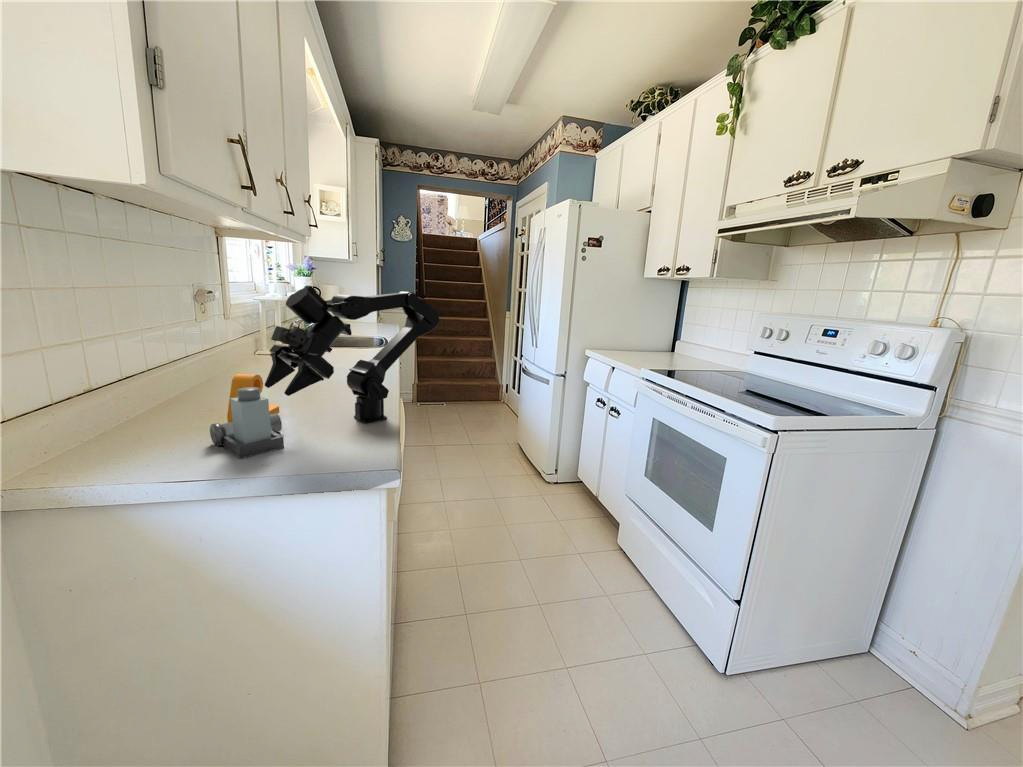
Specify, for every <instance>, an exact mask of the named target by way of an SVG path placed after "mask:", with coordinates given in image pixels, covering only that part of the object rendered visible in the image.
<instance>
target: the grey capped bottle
mask: <svg viewBox="0 0 1023 767" xmlns="http://www.w3.org/2000/svg"><path fill="white" fill-rule="evenodd" d="M237 393H238V397H237V398H230V397H229V399H230V400H231V410H232V420H233V430H234V440H235V441H236V442H238V443H239V444H241V445H245V444H249V443H253V442H258V441H262V440H266V439H270V438H271V427H270V415H269V405H270V404H269V403H270V401H269V398H267V397H265V396H262V395H261V393H260V388H257V387H247V388H241V389H238V390H237Z"/></svg>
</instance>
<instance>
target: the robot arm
mask: <svg viewBox="0 0 1023 767" xmlns="http://www.w3.org/2000/svg"><path fill="white" fill-rule="evenodd" d="M285 306H286V307H287V308H288V309H289V310H290V311H292V313H294V314H295V315H296V316H297V317H298V318H300V319H301V320H302V322H303V323H305V324H313V325H312V327H311V328H310V329H309V330H308V331H305V329H303V328H300V327H299V326H294V327H292V328H291V329H290V328H286V327H283V326H279V325H276V326H275V327H274V330H273V333H272V336H271V337H270V339H271V340H272V341H275V342H280V343H282V344H279V343H278V344H274V345H272V347H270V349H269V350H268V351H269V353H270V354H269V355H270V357H271V361H272V366H271V368H270V371H269V372H268V375H267V377H266V380H265V382H264V387H266V388H272V387H273V386H274V385H276V384H278V383H279V382H280V381H282V380H283V379H285V378H286V377H288V376H289V375H291V374H292V373H294V372H295V371H296V368H297V372H296V374H295V375H294V377H293V378H292V379H291V381H290V383H289V384H288V386H287V387H286V389H285V391H284V395H286V396H288V397H289V396H291V395H293V394H296V393H297V392H300V391H302V390H303V389H305V388H307V387H311V385H314V384H316V383H319V382H321V381H322V382H323V381H324V380H325V379H327V380H329V379H330V378H331V377H332V375H333V374H334V373H335V370H334V368H335V367H334V366H333V365H332V364H331V363H330V362H328V360H326V359H325V358H324V357H323V356H324V355H325V354H326V353H331V352H332V351H333V348H332V347H331V346H332V345H333V344H334V343H335V341H336V340H337V339H338V338H339V336H340V335H346V336H352V334H353V333H352V328H351V324H350V323H345V322H344V321H343V320H342V319H345V320H349V321H350V320H351V321H355V320H358V319H361V318H364V317H367V316H368V315H370V314H372V313H374V312H379V311H386V310H394V309H399V308H401V310H402V311H403V313H404V315H406V316H407V317H406V320H405V322H404V323H405V324H404V326H403V327H402V328H401V330H399V331H398V332H397V333H396V334H395V335H394V337H392V338H391V339H390V341H388V342H387V343H386V344H385V345H384V346H383V348H381V349H380V351H379V352H378V353H376V355H375V356H374V357H372V359H370V360H364V359H359V360H358V361H357V362H356V363H355V365H354V366H353V367H351V368H349V369H348V371H349V372H348V373H347V375H346V384H347V387H348V388H349V389H351V392H352V394H353V395H354V396H356V402H355V403H354V416H353V418H354V419H357V420H359V421H360V422H362V423H364V424H368V423H373V422H378V421H382V420H386V419H388V416H386V415H385V409H384V405H385V403H384V401H385V400H384V399H387V398H388V394H389V392H390V390H389V389H388V388H387V387H386V386H384V381H385V377H386V372H387V371H388V370H389V369H390V368H391V367H392V366H393V364H394V363H395V362H397V360H398V359H399V358H401V356H402V355H403V354H404V353H405V352H406V351H407V350H408V349H409V348H410V347H411V346H412V344H413V343H415V341H416V340H417V339H418V338H419V337H422V336H425V335H426V334H428V333H431V332H432V331H433V330H434V329H436V328H437V327H438V325H440V314H439V312H438V311H437V310H436V309H435V308H433V307H432V306H430V305H429V304H428V303H426V302H425V301H424V300H423V299H421V298H419V296H418V295H417V294H416V293H414V292H412V291H403V290H402V291H399V292H392V293H386V294H385V293H384V294H376V295H367V296H363V295H362V296H361V295H352V294H351V295H349V294H335V295H333V296H332V298H331V299H326V300H325V299H324V298H323V297H322V296H321V295H320V294H319V293H318V292H317V290H316V289H315V288H314V287H313V286H312V285H305V286H304V287H303V288H301V289H299V290H297V291H295V292H294V293H292V294H291V295H289V297H288V298H287V299H286V301H285ZM284 344H286V345H284Z"/></svg>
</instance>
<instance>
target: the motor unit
mask: <svg viewBox="0 0 1023 767" xmlns="http://www.w3.org/2000/svg"><path fill="white" fill-rule="evenodd" d="M209 426H210V427H209V434H210V438H211V441H212V443H213V445H214V446H215V447H218V446H222V447H223V448H224V449H225V450H226V451H228V452H229V453H231V454H232V455H233V456H235V457H237V458H239V459H240V460H242V459H246V458H248V457H253V456H256V455H260V454H261V455H262V454H264V453H268V452H271V451H272V452H273V451H275V450H281V449H283V448H285V444H284V443H285V442H284V436H283V435H281V434H279V432H282V429H283V427H282V426H283V424H282V419H281V417H280V415H279V413H278V414H271V415H270V427H271V438H270V439H266V440H262V441H258V442H253V443H249V444H245V445H241V444H239V443H238V442H236V441H235V440H234V430H233V422H230V423H228V422H226V423H221V424H220V423H218V422H217V423H212V424H210V425H209Z"/></svg>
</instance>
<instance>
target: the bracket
mask: <svg viewBox="0 0 1023 767" xmlns="http://www.w3.org/2000/svg"><path fill="white" fill-rule="evenodd" d="M231 380H232V381H231V385H230V392H229V401H228V406H227V407H228V408H227V415H226V418H227V423H230V422H233V420H232V410H231V400H230V398H237V397H238V393H237V390H238V389H241V388H247V387H257V388H260V394H261V393H262V391H263V389H264V380H263V377H262V376H261V375H260V374H252V373H251V374H250V373H249V374H248V373H237V374H235V375H234V376H233V378H232V379H231ZM279 413H280V405H278V404H269V415H271V414H278V415H279Z"/></svg>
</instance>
